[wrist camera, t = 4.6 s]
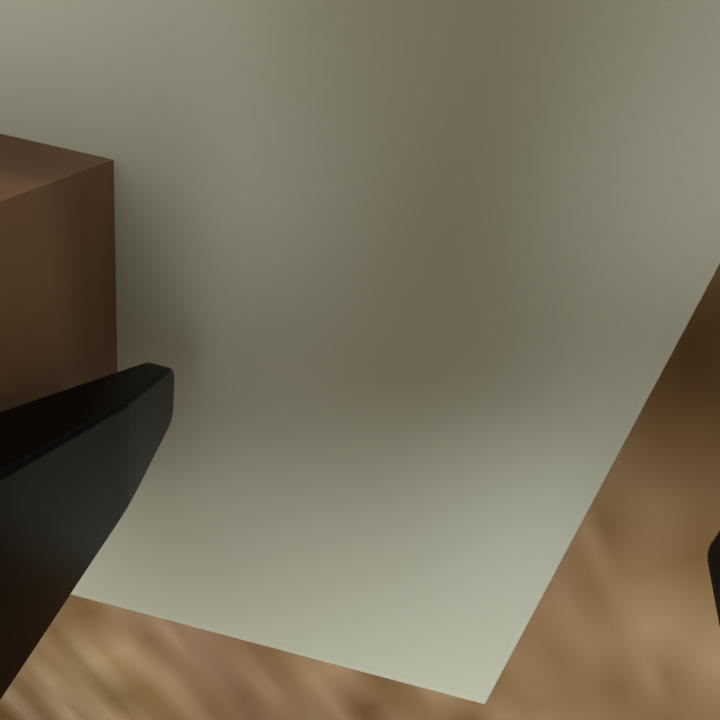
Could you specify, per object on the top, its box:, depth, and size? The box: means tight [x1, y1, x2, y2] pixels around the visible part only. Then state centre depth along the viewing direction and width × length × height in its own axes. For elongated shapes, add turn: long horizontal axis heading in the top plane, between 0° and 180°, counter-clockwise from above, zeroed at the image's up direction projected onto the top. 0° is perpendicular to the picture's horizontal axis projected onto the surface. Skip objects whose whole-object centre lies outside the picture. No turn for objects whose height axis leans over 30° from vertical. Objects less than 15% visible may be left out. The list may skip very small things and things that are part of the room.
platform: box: [0, 0, 720, 704], centre depth 11 cm, size 14×14×3 cm
